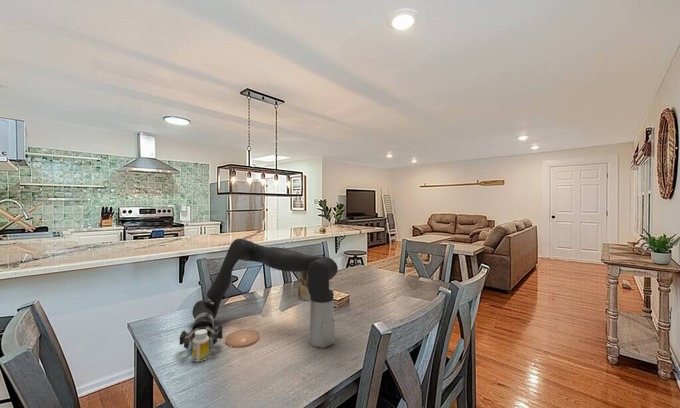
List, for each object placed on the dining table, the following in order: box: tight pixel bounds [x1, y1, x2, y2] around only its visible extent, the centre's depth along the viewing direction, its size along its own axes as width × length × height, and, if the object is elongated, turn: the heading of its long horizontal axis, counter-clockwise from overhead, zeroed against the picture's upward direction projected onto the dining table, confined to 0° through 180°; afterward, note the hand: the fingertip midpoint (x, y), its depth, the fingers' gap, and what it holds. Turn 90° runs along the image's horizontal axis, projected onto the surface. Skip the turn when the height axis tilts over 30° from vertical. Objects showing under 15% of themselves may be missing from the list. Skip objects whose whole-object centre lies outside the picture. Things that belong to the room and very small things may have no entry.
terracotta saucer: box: [224, 328, 260, 348], centre depth 120 cm, size 13×13×1 cm
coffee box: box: [297, 272, 310, 302], centre depth 169 cm, size 9×6×16 cm
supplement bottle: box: [191, 329, 210, 363], centre depth 106 cm, size 5×5×10 cm
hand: (200, 344), depth 104 cm, fingers open, 8 cm apart
